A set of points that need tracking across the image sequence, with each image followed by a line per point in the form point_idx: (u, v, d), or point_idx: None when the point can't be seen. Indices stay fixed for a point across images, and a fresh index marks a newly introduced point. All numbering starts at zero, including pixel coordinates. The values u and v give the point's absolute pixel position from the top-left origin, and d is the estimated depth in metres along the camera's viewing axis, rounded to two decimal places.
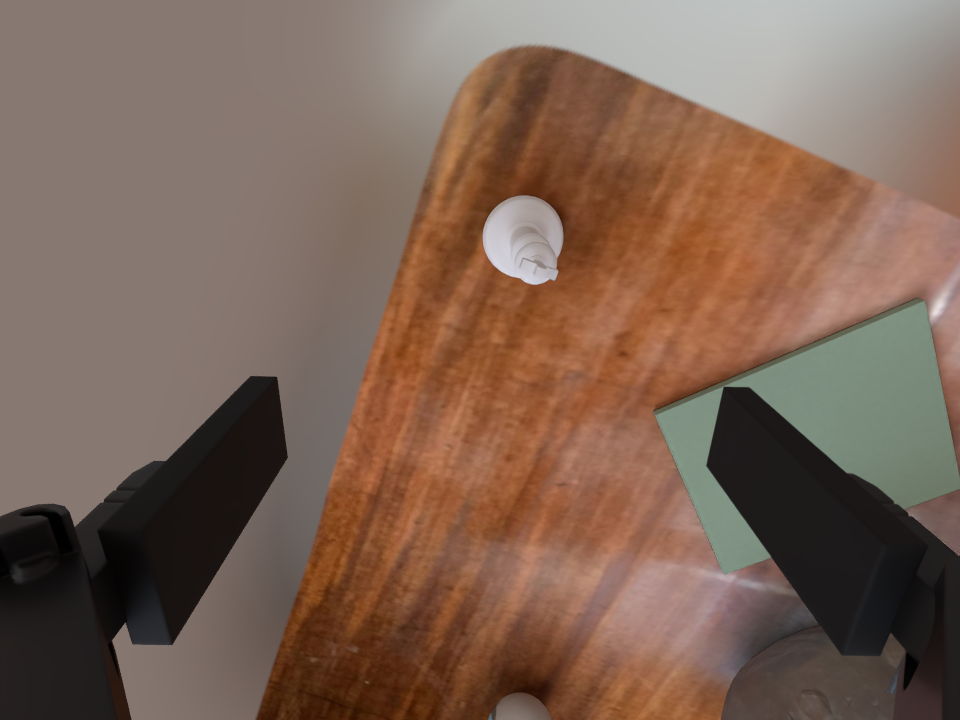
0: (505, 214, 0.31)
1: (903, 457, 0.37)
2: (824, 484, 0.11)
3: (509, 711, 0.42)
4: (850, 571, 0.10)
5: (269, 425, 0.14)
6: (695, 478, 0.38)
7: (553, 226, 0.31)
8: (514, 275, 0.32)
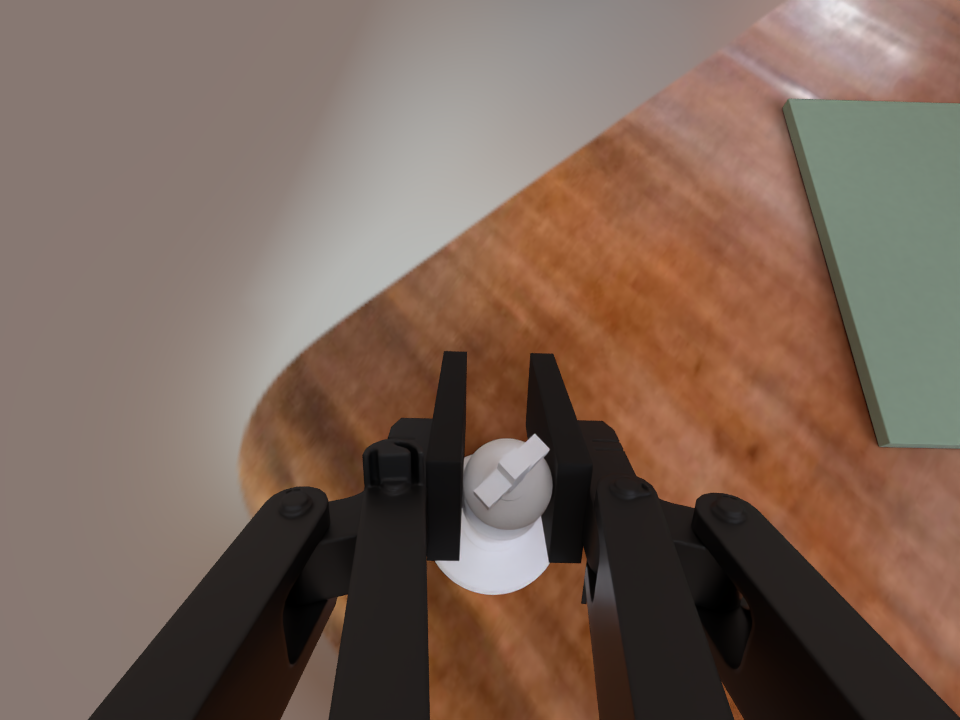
0: None
1: None
2: (548, 423, 0.13)
3: None
4: None
5: None
6: None
7: None
8: (544, 563, 0.18)
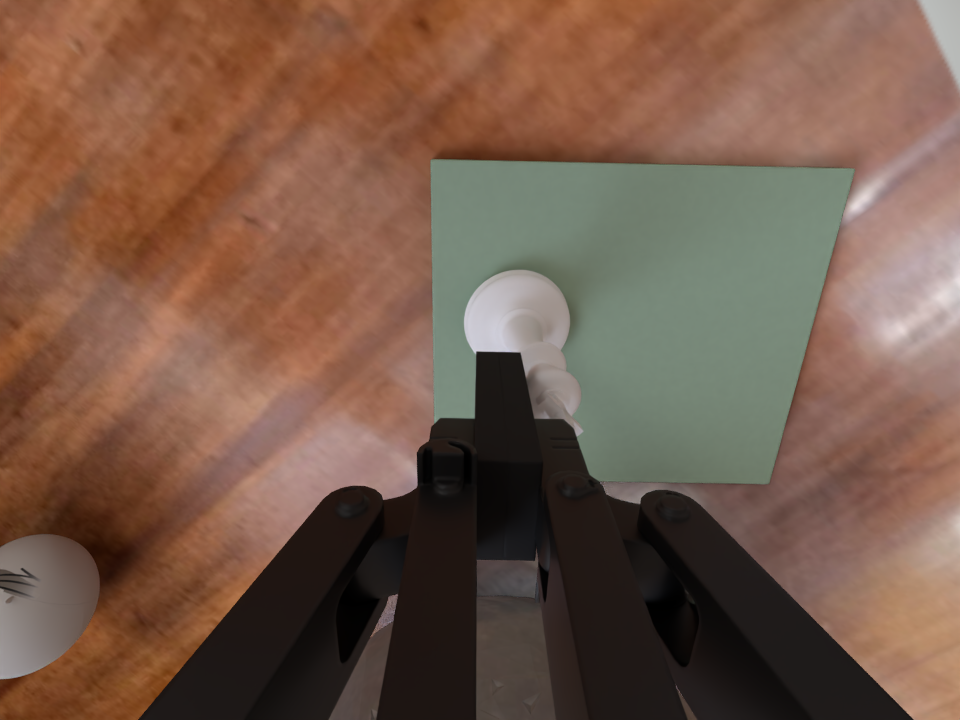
0: (513, 288, 0.23)
1: (724, 405, 0.26)
2: (504, 421, 0.13)
3: (18, 549, 0.26)
4: None
5: None
6: (449, 303, 0.24)
7: (560, 329, 0.24)
8: None
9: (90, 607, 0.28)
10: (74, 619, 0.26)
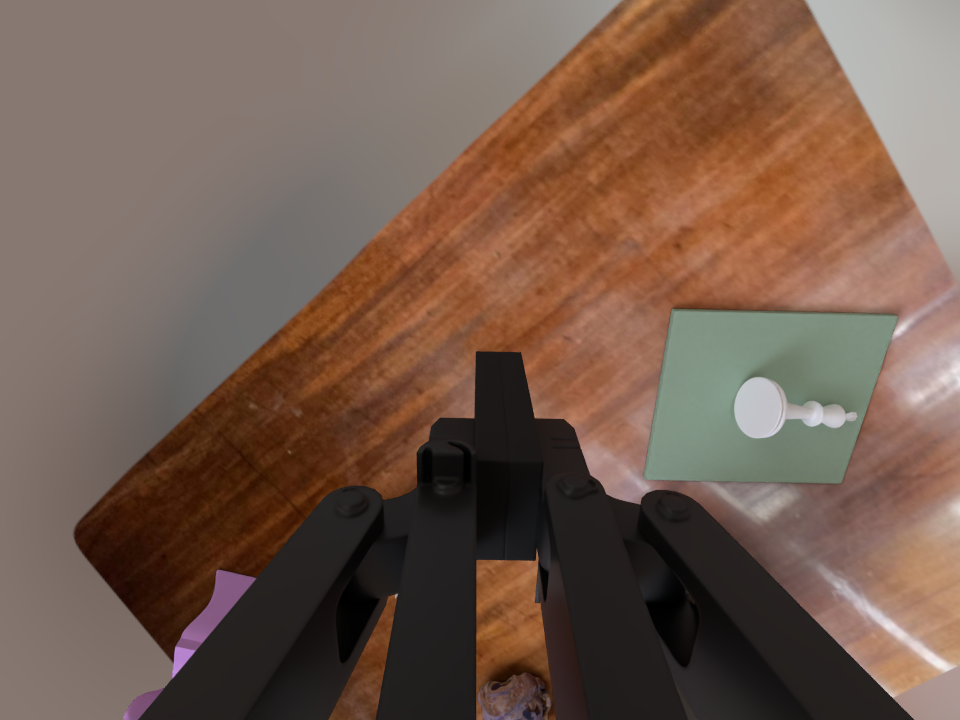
0: None
1: (818, 438, 0.46)
2: (504, 421, 0.13)
3: None
4: None
5: None
6: (671, 382, 0.44)
7: None
8: (767, 436, 0.41)
9: None
10: None
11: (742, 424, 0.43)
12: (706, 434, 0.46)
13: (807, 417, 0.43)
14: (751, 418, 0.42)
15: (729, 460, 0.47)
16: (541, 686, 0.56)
